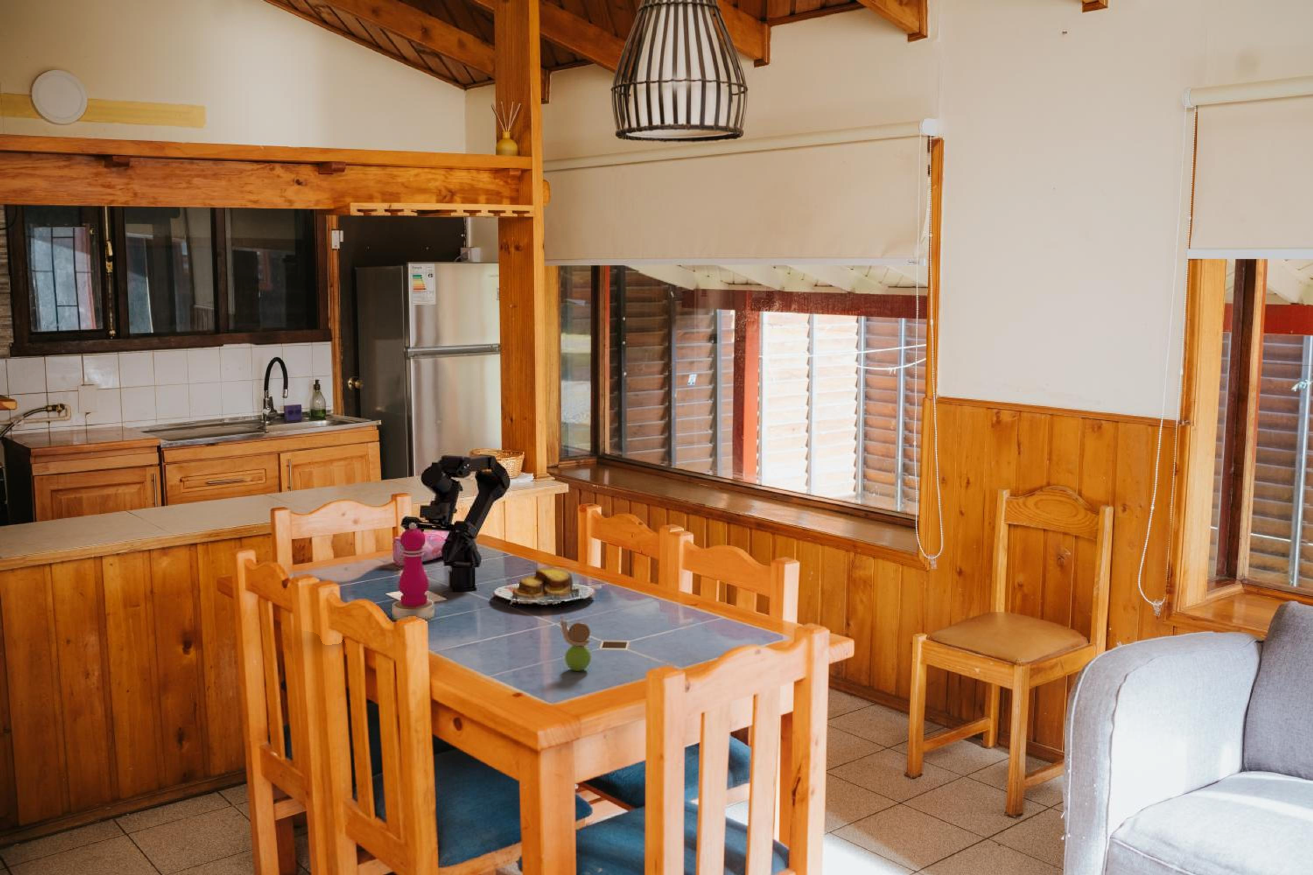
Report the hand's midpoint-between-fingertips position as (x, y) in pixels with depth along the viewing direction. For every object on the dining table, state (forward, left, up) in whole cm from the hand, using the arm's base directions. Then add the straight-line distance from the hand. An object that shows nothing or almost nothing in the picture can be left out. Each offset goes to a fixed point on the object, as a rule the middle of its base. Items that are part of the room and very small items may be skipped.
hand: (430, 559), depth 294 cm
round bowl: (+6, +8, -12) cm, 15 cm away
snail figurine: (-21, +58, -12) cm, 63 cm away
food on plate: (-29, +2, -12) cm, 31 cm away
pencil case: (-6, -48, -12) cm, 50 cm away
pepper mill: (+5, +8, -9) cm, 13 cm away
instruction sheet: (+3, -9, -12) cm, 15 cm away
